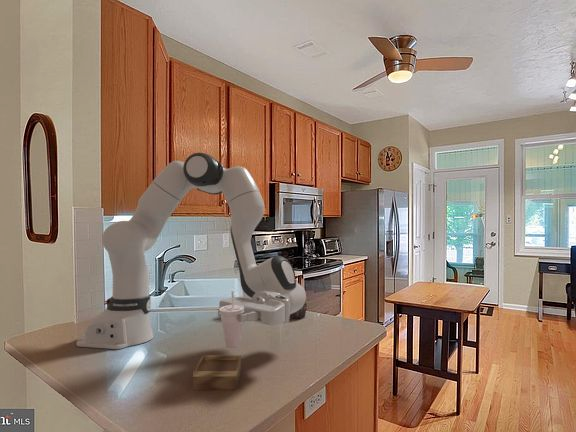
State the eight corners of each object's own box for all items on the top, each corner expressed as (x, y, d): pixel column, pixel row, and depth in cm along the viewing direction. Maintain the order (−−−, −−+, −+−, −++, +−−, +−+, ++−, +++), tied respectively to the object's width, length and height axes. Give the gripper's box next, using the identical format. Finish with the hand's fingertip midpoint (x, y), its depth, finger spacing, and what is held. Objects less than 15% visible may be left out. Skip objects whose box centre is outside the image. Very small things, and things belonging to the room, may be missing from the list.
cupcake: (311, 318, 139) (311, 293, 139) (290, 321, 135) (290, 295, 135) (299, 312, 148) (299, 289, 148) (279, 315, 143) (280, 291, 143)
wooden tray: (192, 389, 78) (193, 372, 78) (202, 371, 88) (202, 355, 88) (236, 389, 79) (236, 371, 79) (241, 370, 89) (241, 355, 89)
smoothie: (236, 352, 83) (233, 295, 83) (215, 348, 86) (212, 293, 86) (250, 341, 89) (248, 289, 89) (230, 338, 92) (227, 287, 91)
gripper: (240, 290, 104) (203, 297, 93) (293, 299, 91) (258, 309, 81) (240, 310, 104) (203, 321, 93) (293, 323, 91) (258, 336, 80)
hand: (229, 316), depth 87 cm, fingers closed on smoothie, 6 cm apart
